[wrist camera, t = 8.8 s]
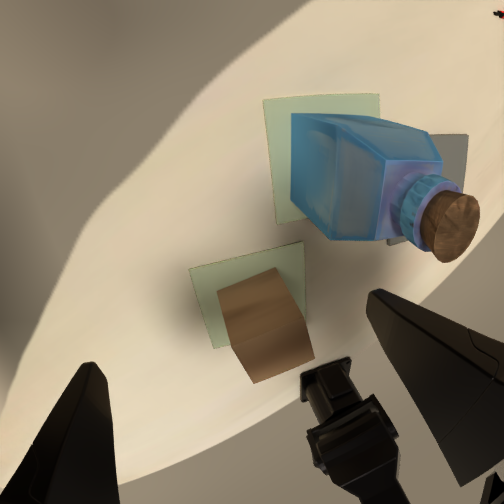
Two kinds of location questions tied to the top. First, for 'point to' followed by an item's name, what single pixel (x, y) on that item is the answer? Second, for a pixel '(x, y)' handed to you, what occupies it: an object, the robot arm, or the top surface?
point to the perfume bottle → (377, 184)
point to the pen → (499, 13)
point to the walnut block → (265, 325)
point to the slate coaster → (448, 163)
